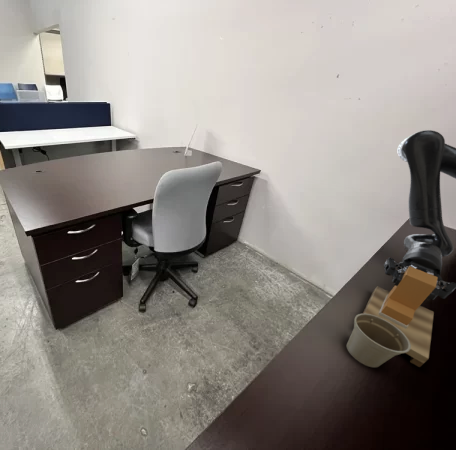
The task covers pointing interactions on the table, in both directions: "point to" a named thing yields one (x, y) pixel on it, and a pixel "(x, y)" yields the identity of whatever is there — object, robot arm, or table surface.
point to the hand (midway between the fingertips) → (413, 289)
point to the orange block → (407, 296)
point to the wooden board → (416, 329)
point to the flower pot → (376, 340)
